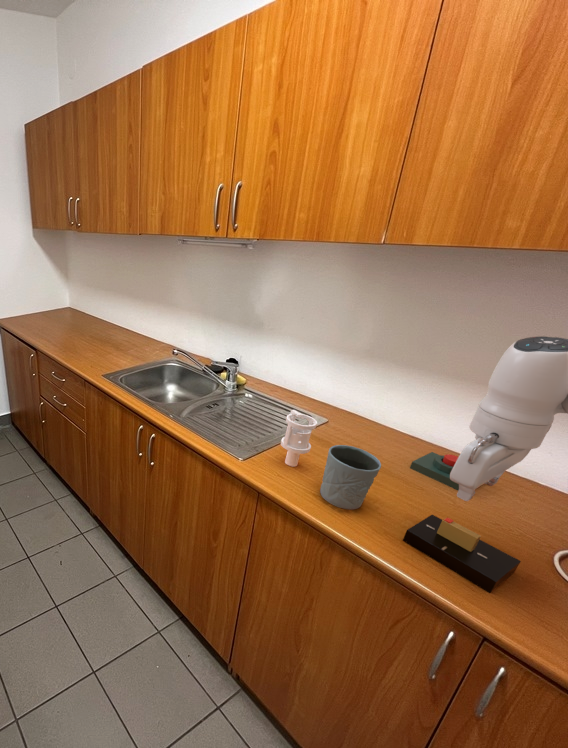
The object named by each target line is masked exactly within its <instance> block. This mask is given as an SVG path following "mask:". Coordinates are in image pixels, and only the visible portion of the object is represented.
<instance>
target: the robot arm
mask: <svg viewBox="0 0 568 748" xmlns="http://www.w3.org/2000/svg"><path fill="white" fill-rule="evenodd" d="M487 386H488V387H487V388H488V389H487V393H486V395H485V396H484V397H483V398H482V399H481V400H480V401H479V403H478V406H477V408H476V410H475V412H474V414H473V417H472V418H471V421H470V423H469V425H468V426H469V430H470V431H471V432H472V433H473V434H475V435H474V438H475V439H474V440H472V441H470V442H469V443H467V444H466V445H465V446H464V447H463V449H462V450H461V452H460V453H459V455H458V459H457V461H456V463H455V465H454V467H453V469H452V471H451V473H450V479H451V480H452V481H453V482H455V483H458V484H459V491H458V490H457V493H456V497H457V498H458V499H460V500H463V501H465V502H469V501H472V499H473V498H474V497H475V495H476V489H478V488H480V487H481V486H482V485H487V486H489V487H493V486H495V485H496V484H498V482H499V480H500V479H501V477H502V475H504V473H505V472H506V471H507V470H509V469H511V468H512V467H514V466H515V465H517V464H519V463H521V462H522V461H523V460H525V458H526V457H527V456H528V455H529V454H530V452H531V451H532V450H536V449H538V448H540V447H541V445H542V443H543V441H544V440H545V437H546V436H547V434H548V433H549V431H550V429H551V428H552V424H553V422H554V421H555V415H557V414H567V415H568V338H566V337H565V338H564V337H557V336H553V337H552V336H545V335H543V336H542V335H541V336H539V335H538V336H530V337H524V338H520V339H518V340H515V341H514V342H513V343H512V344H511V345H510V346H509V347H508V348H507V349H506V350H505V351H504V352H503V354H502V355H501V357H500V358H499V361H498V362H497V364H496V366H495V367H494V370H493V372H492V374H491V375H490V377H489V380H488V384H487ZM479 486H480V487H479Z"/></svg>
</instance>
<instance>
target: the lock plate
mask: <svg viewBox="0 0 568 748" xmlns="http://www.w3.org/2000/svg"><path fill="white" fill-rule="evenodd" d="M442 520H443V519H442V518H440V517H438V516H436V515H434V514H431V515H429V516H427V517H425V518H424V519H423V520H421V521H419V522H417V523H416V524H414V525H412V526H411V527H409V528H408V529H406V531H405V533H404V536H403V538H402V542H404V543H407V544H408V545H409V546H410V547H413V548H414V549H416V550H418V551H419V552H421V553H422V554H424V555H426V556H427V557H429V558H431V559H432V560H434V561H436V562H437V563H439V564H440V565H442V566H444V567H445V568H447V569H449V570H450V571H452V572H454V573H455V574H457V575H458V576H460V577H462V578H464V579H466V581H468V582H470V583H472V584H474V585H475V586H477V587H479V588H480V589H481V590H483V591H485V592H486V593H489V594H491V593H492V592H494V591H495V590H496V589H497V588H498V587H499V586H501V585H502V584H503V583H505V581H507V580H508V579H509V578H510V577H512V575H513V574H515V572H516V570H517V569H518V567H519V566H520V564H521V562H522V561H521V560H519V559H518V558H516V557H514V556H511V555H510V554H508V553H506V552H504V551H502V550H501V549H499V548H497V547H495V546H493V545H491V544H489V543H487V542H485V541H483V540H482V539H481V538H480V539H479V541H478V543H477V545H476V547H475V549H474V550H473V551H471V552H470V551H468V550H466V549H464V548H463V547H461V546H459V545H457V544H455V543H454V542H452V541H450V540H448V539H446V538H445V537H443V536H441V535H439V534H437V531H438V529H439V527H440V524H441V522H442Z"/></svg>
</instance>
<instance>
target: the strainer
mask: <svg viewBox="0 0 568 748" xmlns="http://www.w3.org/2000/svg"><path fill="white" fill-rule="evenodd" d="M296 419H303V420H306V421H308V423H307V424H300V423H299V422H297V421H296ZM285 422H286V424H287V427H286V430H285V435H284V436H283V437H282V438H281V440H280V446H281V447H282V448H283V449H285V450H286V451H287V452H286V456H285V460H284V464H285V465H287V466H289V467H293V468H294V467H297V466H298V463H299V459H300V456H301V455H303V454H304V455H305V454H308V453H310V452H311V448H312V445H311V443H310V440H311V435H312V432H313V430H315V429H316V428H317V425H318V421H317V419H316V418H314V417H313V416H310V415H307V414H304V413H301V412H300V411H298V410H296V409H291V410H290V413H289V414H287V415H286V417H285Z"/></svg>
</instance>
